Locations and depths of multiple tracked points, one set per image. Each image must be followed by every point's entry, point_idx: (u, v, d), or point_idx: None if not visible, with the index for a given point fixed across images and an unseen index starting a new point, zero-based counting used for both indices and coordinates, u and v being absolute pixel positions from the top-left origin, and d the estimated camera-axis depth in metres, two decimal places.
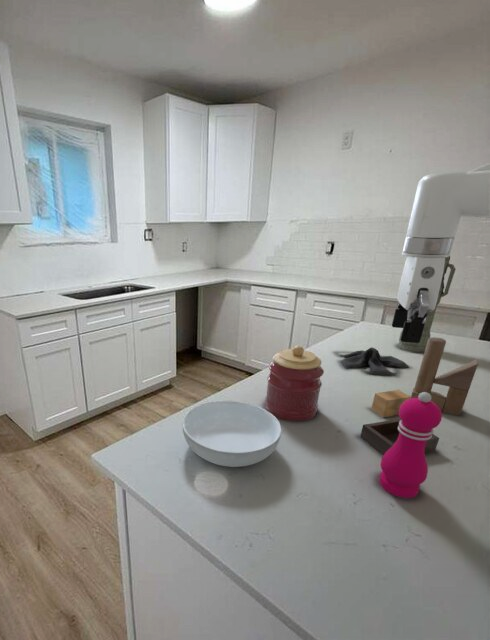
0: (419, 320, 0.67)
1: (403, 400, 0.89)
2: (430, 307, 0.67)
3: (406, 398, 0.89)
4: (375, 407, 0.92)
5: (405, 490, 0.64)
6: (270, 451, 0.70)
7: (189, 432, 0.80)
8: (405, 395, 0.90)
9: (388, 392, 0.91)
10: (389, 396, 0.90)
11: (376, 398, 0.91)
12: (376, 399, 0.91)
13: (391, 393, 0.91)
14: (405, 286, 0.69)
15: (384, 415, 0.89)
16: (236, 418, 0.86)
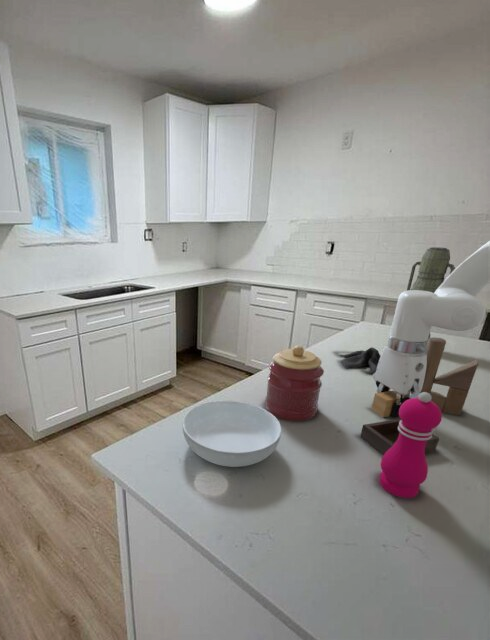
0: None
1: None
2: (419, 391, 0.85)
3: None
4: (375, 407, 0.92)
5: (405, 490, 0.64)
6: (270, 451, 0.70)
7: (189, 432, 0.80)
8: None
9: (388, 392, 0.91)
10: (389, 396, 0.90)
11: (376, 398, 0.91)
12: (376, 399, 0.91)
13: (391, 393, 0.91)
14: (397, 376, 0.85)
15: (384, 415, 0.89)
16: (236, 418, 0.86)
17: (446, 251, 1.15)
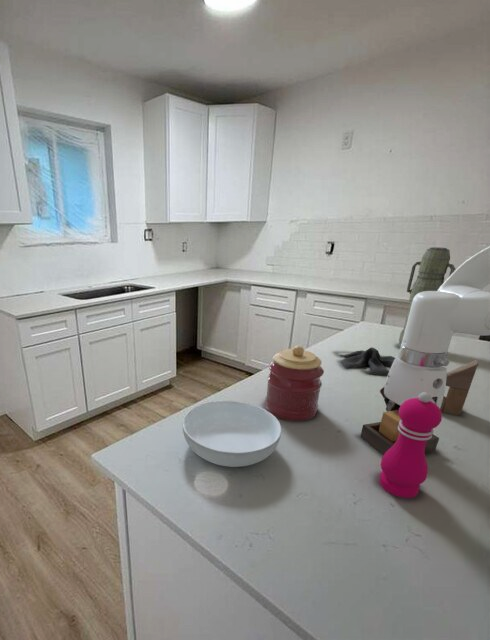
0: None
1: None
2: None
3: None
4: (383, 428, 0.78)
5: (405, 490, 0.64)
6: (270, 451, 0.70)
7: (189, 432, 0.80)
8: None
9: None
10: None
11: (385, 418, 0.77)
12: (385, 419, 0.77)
13: None
14: (411, 393, 0.71)
15: (394, 438, 0.76)
16: (236, 418, 0.86)
17: (446, 251, 1.15)
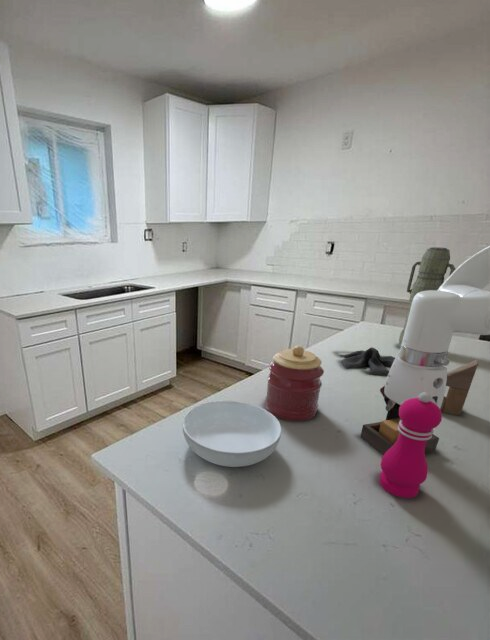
0: None
1: None
2: None
3: None
4: None
5: (405, 490, 0.64)
6: (270, 451, 0.70)
7: (189, 432, 0.80)
8: None
9: (397, 420, 0.78)
10: None
11: (383, 427, 0.78)
12: (383, 428, 0.78)
13: (400, 420, 0.78)
14: (411, 393, 0.71)
15: None
16: (236, 418, 0.86)
17: (446, 251, 1.15)
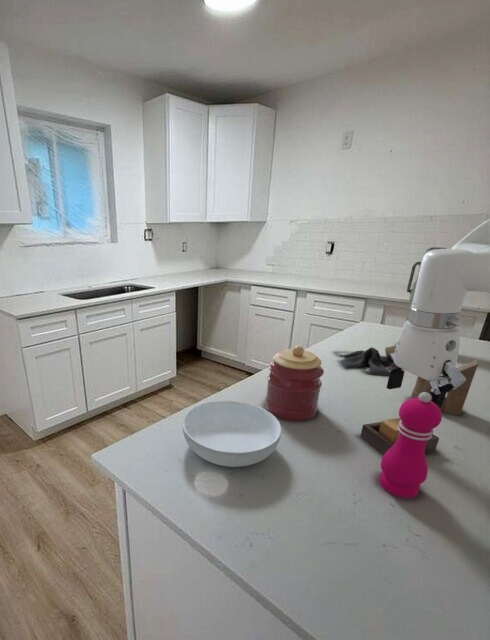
0: (448, 391, 0.67)
1: None
2: None
3: None
4: None
5: (405, 490, 0.64)
6: (270, 451, 0.70)
7: (189, 432, 0.80)
8: None
9: (397, 420, 0.78)
10: None
11: (383, 427, 0.78)
12: (383, 428, 0.78)
13: (400, 420, 0.78)
14: (423, 358, 0.68)
15: None
16: (236, 418, 0.86)
17: None
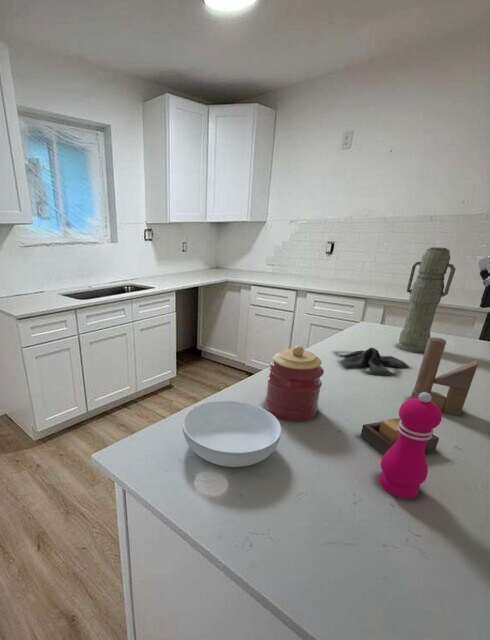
0: None
1: None
2: None
3: None
4: None
5: (405, 490, 0.64)
6: (270, 451, 0.70)
7: (189, 432, 0.80)
8: None
9: (397, 420, 0.78)
10: None
11: (383, 427, 0.78)
12: (383, 428, 0.78)
13: (400, 420, 0.78)
14: None
15: None
16: (236, 418, 0.86)
17: (446, 251, 1.15)
